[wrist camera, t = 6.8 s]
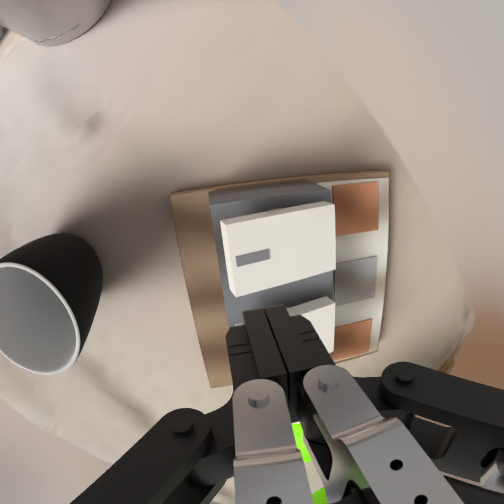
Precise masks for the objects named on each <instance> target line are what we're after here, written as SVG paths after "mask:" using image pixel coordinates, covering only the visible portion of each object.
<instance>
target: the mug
mask: <svg viewBox="0 0 504 504" xmlns="http://www.w3.org/2000/svg"><path fill="white" fill-rule="evenodd" d="M102 281H103V276H102V268H101V264H100V261H99V259H98V257H97V255H96V253H95V251H94V250H93V249H92V247H91V246H90V245H89V244H88V243H86V242H85V241H84V240H82V239H81V238H79V237H76V236H74V235H70V234H53V235H48V236H45V237H42V238H39V239H36V240H34V241H32V242H29V243H27V244H25V245H23V246H21V247H19V248H17V249H16V250H14V251H12V252H10V253H9V254H7V255H6V256H4V257H3V258H1V259H0V352H1V353H2V354H3V355H4V356H6V357H7V358H8V359H9V360H10V361H12V362H13V363H15V364H16V365H18V366H20V367H21V368H23V369H25V370H28V371H30V372H34V373H37V374H44V375H53V374H58V373H61V372H64V371H66V370H67V369H69V368H70V367H71V366H72V365H73V364H74V363H75V361H76V360H77V358H78V356H79V355H80V353H81V350H82V348H83V346H84V343H85V341H86V339H87V336H88V334H89V331H90V328H91V325H92V322H93V319H94V316H95V313H96V310H97V307H98V303H99V299H100V295H101V290H102Z"/></svg>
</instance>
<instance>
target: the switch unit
mask: <svg viewBox="0 0 504 504" xmlns="http://www.w3.org/2000/svg"><path fill="white" fill-rule="evenodd" d="M170 200H171V206H172V212H173V218H174V224H175V229H176V235H177V240H178V246H179V251H180V256H181V261H182V267H183V272H184V276H185V281H186V286H187V291H188V296H189V300H190V305H191V309H192V314H193V318H194V323H195V327H196V331H197V335H198V340H199V344H200V348H201V352H202V356H203V360H204V364H205V368H206V372H207V376H208V379H209V383H210V387H211V388H216V387H223V386H229V385H233V382H232V376H231V370H230V364H229V357H228V351H227V344H226V338H225V336H226V334H227V332H228V330H229V328H230V327H234V326H235V324H237V323H240V322H243V316H242V311H246V310H252V309H258V308H264V307H269V306H275V305H280V304H284V305H285V307H294V306H297V305H300V304H303V303H306V302H309V301H313V300H316V299H319V298H322V297H325V296H327V297H328V298H329V299H331V300H332V301H333V302H335V329H334V351H333V352H331V353H329V354H330V356H331V358H332V359H333V361H334V363H335V364H336V363H340V362H344V361H347V360H351V359H355V358H358V357H362V356H365V355H369V354H372V353H375V352H378V346H379V339H380V332H381V325H382V316H383V308H384V298H385V287H386V275H387V261H388V243H389V210H390V182H389V172H388V171H384V170H369V171H354V172H340V173H327V174H316V175H305V176H295V177H285V178H276V179H267V180H258V181H250V182H242V183H234V184H227V185H220V186H213V187H206V188H199V189H193V190H186V191H180V192H174V193H171V195H170ZM322 201H325V202H329V203H332V204H335V236H336V269H335V270H331V271H328V272H325V273H321V274H318V275H314V276H311V277H308V278H304V279H301V280H297V281H294V282H290V283H287V284H283V285H280V286H276V287H272V288H269V289H265V290H261V291H258V292H254V293H250V294H247V295H243V296H239V297H235V296H234V294H233V293H232V292H231V290H230V287H229V280H228V274H227V267H226V260H225V253H224V246H223V239H222V232H221V224H220V220H225V219H230V218H235V217H240V216H245V215H251V214H256V213H261V212H266V211H268V210H271V209H276V208H288V207H293V206H299V205H305V204H310V203H316V202H322Z"/></svg>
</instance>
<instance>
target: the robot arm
mask: <svg viewBox="0 0 504 504" xmlns="http://www.w3.org/2000/svg"><path fill="white" fill-rule="evenodd" d="M110 1H111V0H0V25H1V26H3V27H5V28H7V29H9V30H11V31H13V32H15V33H17V34H19V35H21V36H23V37H25V38H27V39H29V40H31V41H33V42H35V43H37V44H39V45H44V46H56V45H60V44H63V43H66V42H69V41H71V40H73V39H75V38H77V37H78V36H80V35H82V34H83V33H85V32H86V31H87V30H88V29H89V28H91V27H92V26H93V25H94V24H95V23H96V22H97V21H98V20H99V19H100V18H101V16H102V15H103V13H104V12H105V10H106V9H107V7H108V5H109V3H110ZM242 316H243V323H244V325H240V326H234V327H230V328H229V330H228V332H227V334H226V336H225V338H226V344H227V351H228V357H229V364H230V370H231V376H232V382H233V394H232V397H231V398H230V400H229V401H228V402H227V403H226V404H225V405H224V406H222V407H221V408H219V409H217V410H215V411H213V412H210V413H208V414H203V413H202V412H200V411H198V410H196V409H191V408H181V409H176V410H173V411H171V412H169V413H167V414H166V415H165V416H163V417H162V418H161V419H160V420H159V421H158V422H157V423H156V424H155V425H154V426H153V427H152V428H151V429H150V430H149V431H148V432H147V433H146V434H145V435H144V436H143V437H142V438H141V439H140V440H139V441H138V442H137V443H136V444H135V445H134V446H132V447H131V448H130V449H129V450H128V451H127V452H126V453H125V454H124V455H123V456H122V457H121V458H120V459H119V460H118V461H117V462H116V463H114V464H113V465H112V466H111V467H110V468H109V469H108V470H107V471H106V472H105V473H104V474H103V475H101V477H99V478H98V479H97V480H96V481H95V482H94V483H93V484H92V485H90V486H89V487H88V488H87V489H86V490H85V491H84V492H82V493H81V494H80V495H79V496H78V497H77V498H76V499H75V500H73V501H72V502H71V503H70V504H209V503H210V502H211V501H212V499H213V498H214V497H215V496H216V494H217V493H218V492H219V490H220V489H221V488H222V487H223V485H224V484H225V482H226V480H227V479H228V478H231V477H233V476H234V483H235V498H236V504H314V503H313V499H312V495H311V491H310V487H309V482H308V478H307V474H306V470H305V466H304V461H303V457H302V454H301V451H300V449H298V448H297V445H296V441H295V437H294V433H293V428H292V424H291V423H296V422H300V424H301V427H302V430H303V433H302V438H303V442H304V444H305V447H306V449H307V451H308V453H309V455H310V457H311V459H312V461H313V463H314V466H315V468H316V470H317V472H318V474H319V476H320V478H321V480H322V482H323V485H324V487H325V491H326V497H327V501H328V504H504V390H501V389H498V388H495V387H491V386H487V385H484V384H480V383H476V382H473V381H469V380H466V379H462V378H459V377H456V376H452V375H449V374H446V373H442V372H439V371H436V370H433V369H429V368H426V367H423V366H420V365H417V364H413V363H410V362H397V363H393V364H391V365H389V366H388V367H386V368H385V369H384V371H383V373H382V376H381V377H366V378H360V377H353V376H352V375H351V374H350V373H349V372H348V371H347V370H346V369H344V368H342V367H339V366H336V365H335V363H334V361H333V359H332V358H331V356H330V354H329V352H328V351H327V349H326V347H325V346H324V344H323V342H322V340H321V339H320V337H319V335H318V333H317V332H316V330H315V328H314V327H313V325H312V323H311V321H309V320H308V319H306V318H305V317H303V316H302V315H296V316H290V315H289V313H288V311H287V309H286V307H285V305H284V304H280V305H275V306H269V307H264V308H258V309H252V310H246V311H242ZM415 415H418V416H421V417H425V418H427V419H430V420H433V421H437V422H439V423H443V424H446V425H449V426H451V427H444V426H441V425H438V424H435V423H432V422H429V421H426V420H423V419H420V418H417V417H415ZM440 471H442V472H445V473H449V474H452V475H455V476H459V477H462V478H465V479H469V480H472V481H476V482H480V483H481V486H482V487H479V486H476V485H472V484H469V483H466V482H463V481H460V480H457V479H454V478H451V477H448V476H444V475H442V474H441V472H440Z"/></svg>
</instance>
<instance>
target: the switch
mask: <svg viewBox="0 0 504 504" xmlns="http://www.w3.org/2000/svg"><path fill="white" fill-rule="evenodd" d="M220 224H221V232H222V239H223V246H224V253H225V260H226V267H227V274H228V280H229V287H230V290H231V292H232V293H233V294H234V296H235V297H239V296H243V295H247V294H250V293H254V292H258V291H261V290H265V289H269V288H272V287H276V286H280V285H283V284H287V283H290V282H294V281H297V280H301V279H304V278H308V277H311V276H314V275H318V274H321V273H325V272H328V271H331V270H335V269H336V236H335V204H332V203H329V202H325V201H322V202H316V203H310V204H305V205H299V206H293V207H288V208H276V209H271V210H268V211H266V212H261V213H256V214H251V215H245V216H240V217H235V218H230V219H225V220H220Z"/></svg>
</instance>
